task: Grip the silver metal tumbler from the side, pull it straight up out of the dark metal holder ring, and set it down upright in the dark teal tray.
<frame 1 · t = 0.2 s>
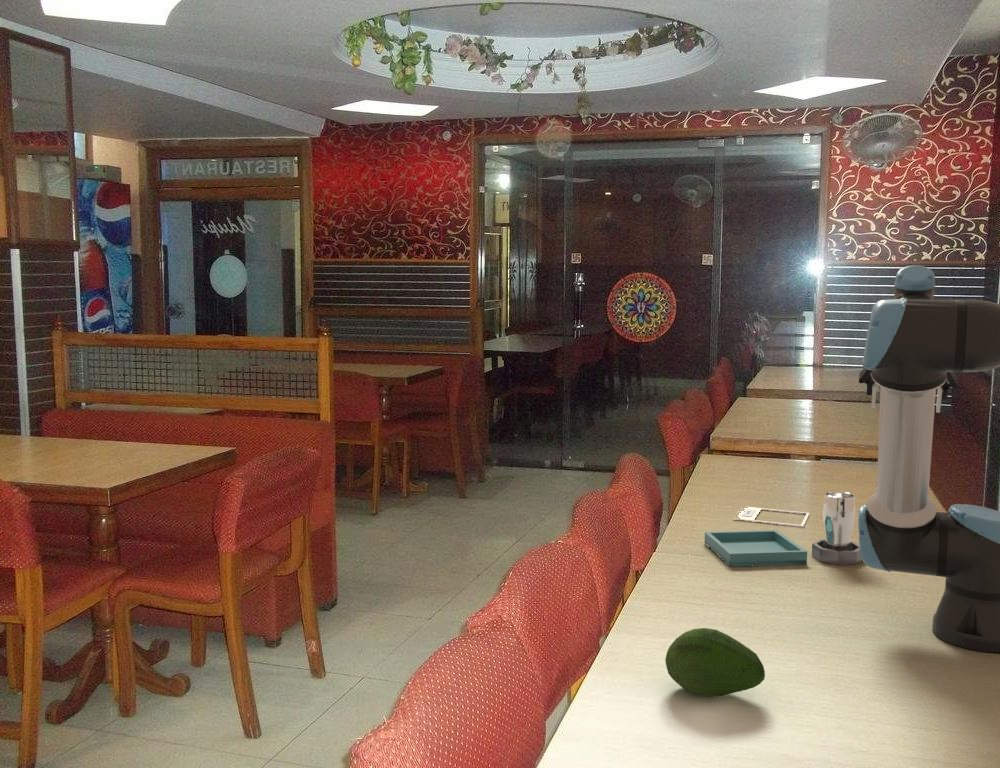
hand: (905, 406, 213), 35 cm above the table, tool tilted 35°, fingers open, 13 cm apart
silver metal tumbler: (836, 558, 216), resting in holder ring
tray: (753, 553, 219), on the table
fruit: (713, 694, 146), on the table
holder ring: (837, 558, 216), on the table
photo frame: (771, 519, 252), on the table
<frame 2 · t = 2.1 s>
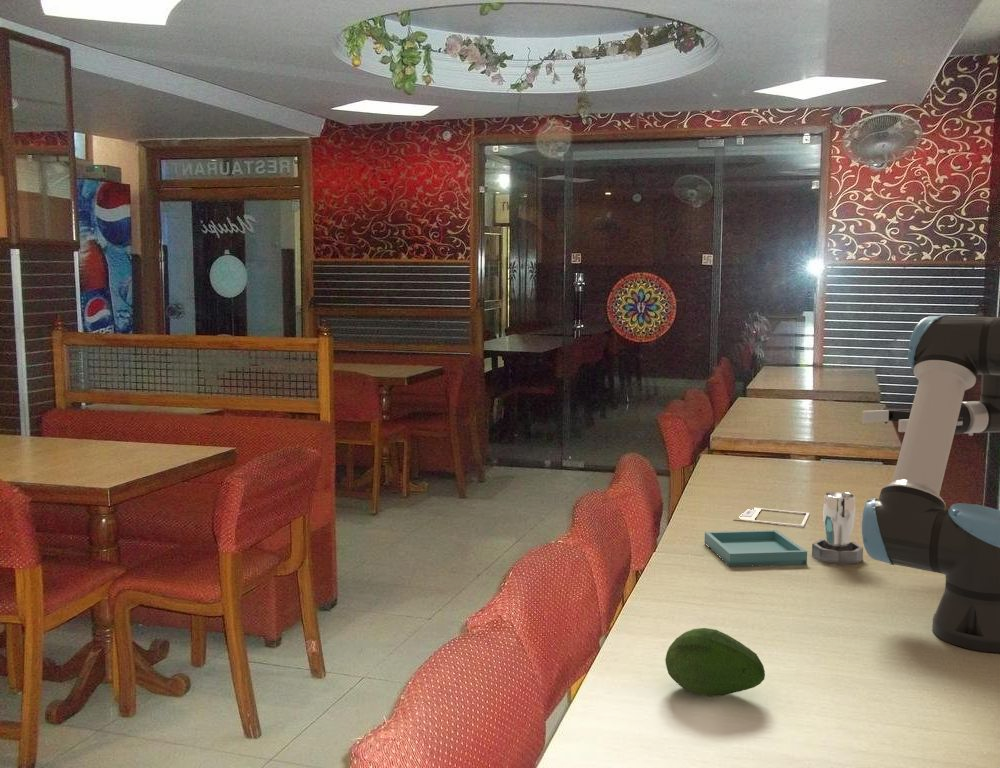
hand: (880, 421, 214), 32 cm above the table, tool horizontal, fingers open, 13 cm apart
nothing on the table moved.
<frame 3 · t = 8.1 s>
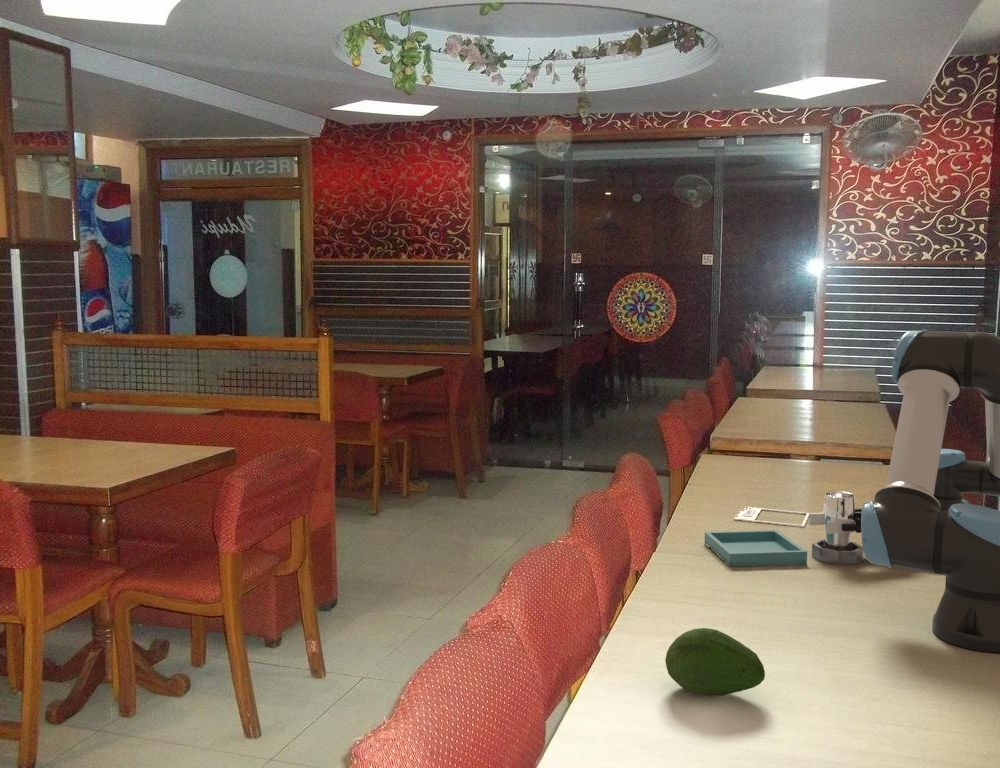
hand: (818, 523, 214), 9 cm above the table, tool horizontal, fingers closed on silver metal tumbler, 7 cm apart
silver metal tumbler: (836, 558, 216), resting in holder ring, touching gripper
everything else where it was.
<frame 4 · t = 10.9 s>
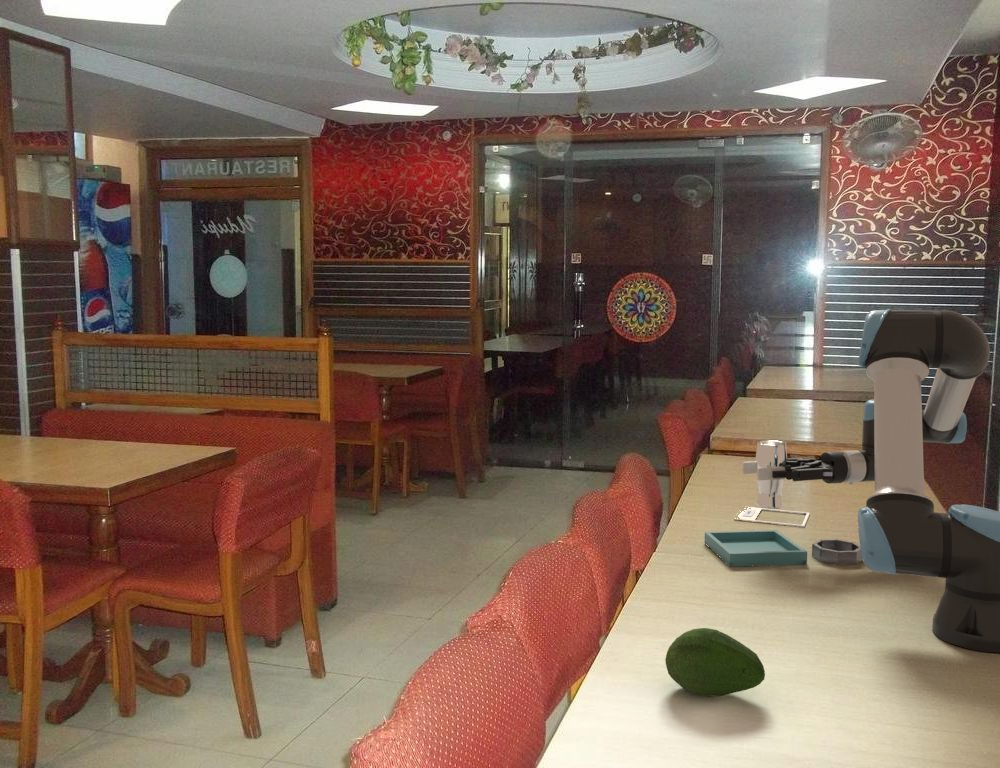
hand: (750, 471, 216), 20 cm above the table, tool horizontal, fingers closed on silver metal tumbler, 7 cm apart
silver metal tumbler: (769, 506, 218), point 11 cm above the table, touching gripper
everything else where it was.
when the fingers open (11 cm above the table, at t = 13.7 s): silver metal tumbler drops 1 cm, resting on tray.
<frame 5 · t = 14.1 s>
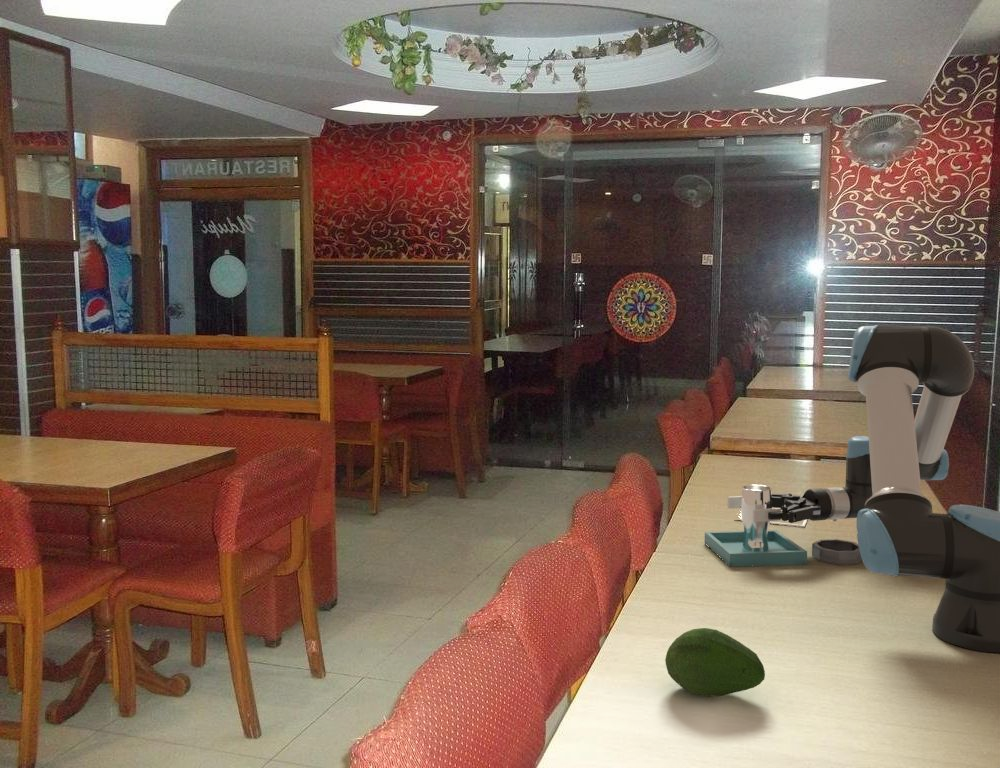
hand: (740, 508, 217), 11 cm above the table, tool horizontal, fingers open, 12 cm apart
silver metal tumbler: (755, 551, 218), point 1 cm above the table, touching tray
everything else where it was.
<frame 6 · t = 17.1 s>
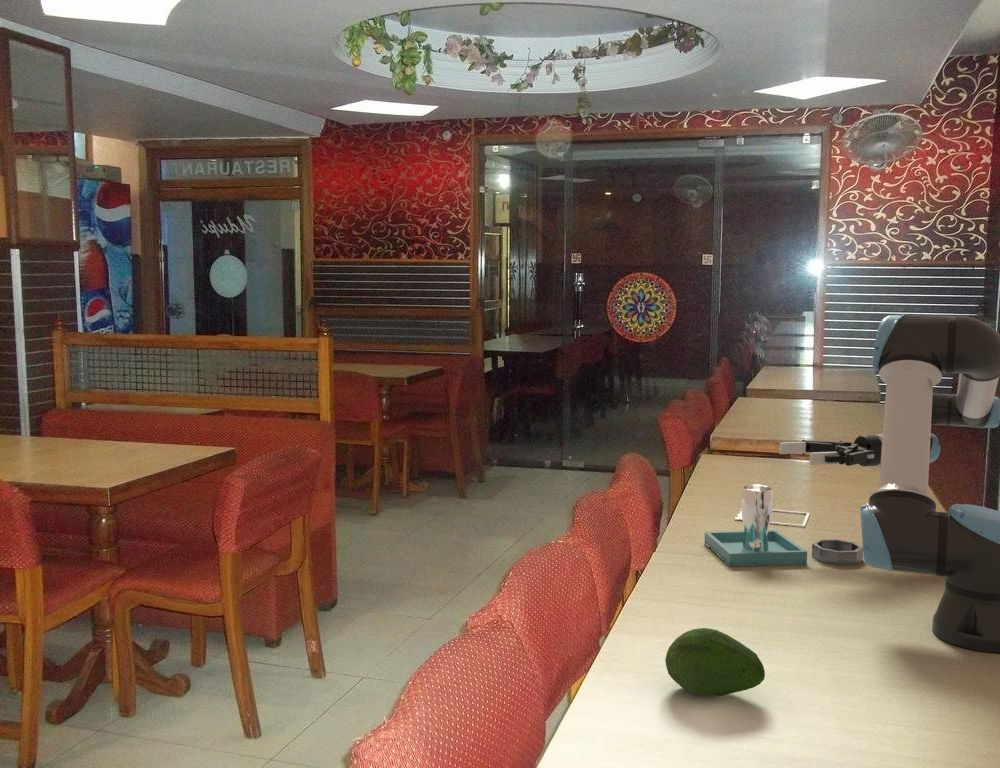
hand: (794, 453, 218), 24 cm above the table, tool horizontal, fingers open, 13 cm apart
nothing on the table moved.
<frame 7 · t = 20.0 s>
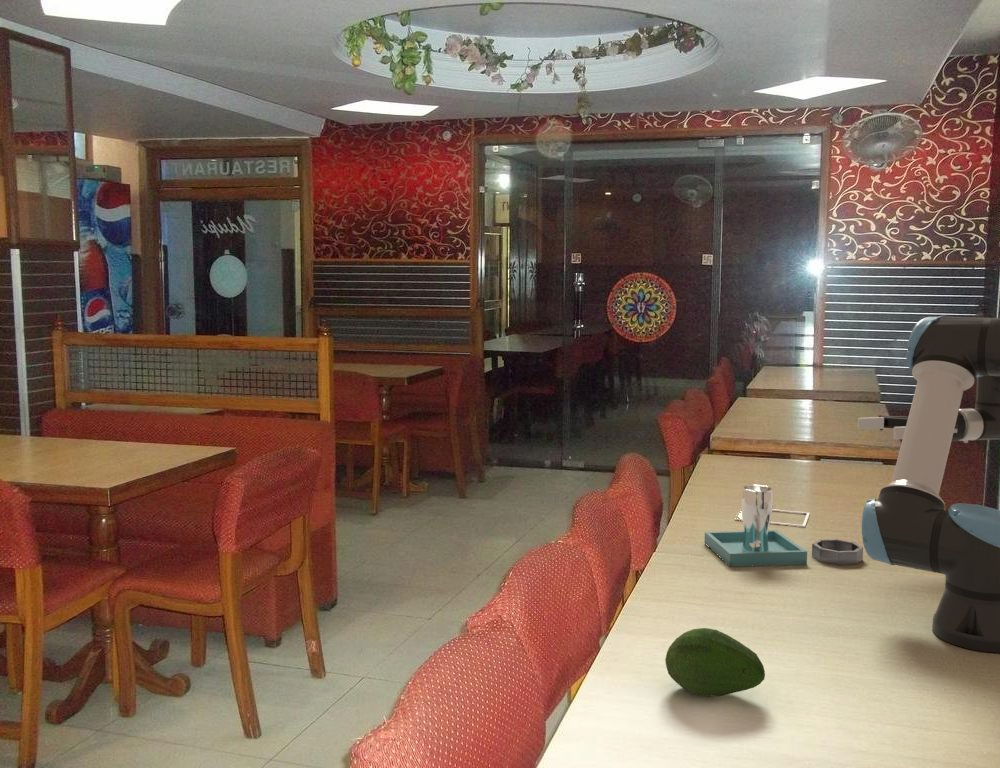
hand: (875, 428, 215), 30 cm above the table, tool horizontal, fingers open, 13 cm apart
nothing on the table moved.
at the end: silver metal tumbler inside the target area on the tray (0.8 cm from its centre), point 0.8 cm above the tray's base; silver metal tumbler tilted 0°; the gripper is holding nothing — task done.
